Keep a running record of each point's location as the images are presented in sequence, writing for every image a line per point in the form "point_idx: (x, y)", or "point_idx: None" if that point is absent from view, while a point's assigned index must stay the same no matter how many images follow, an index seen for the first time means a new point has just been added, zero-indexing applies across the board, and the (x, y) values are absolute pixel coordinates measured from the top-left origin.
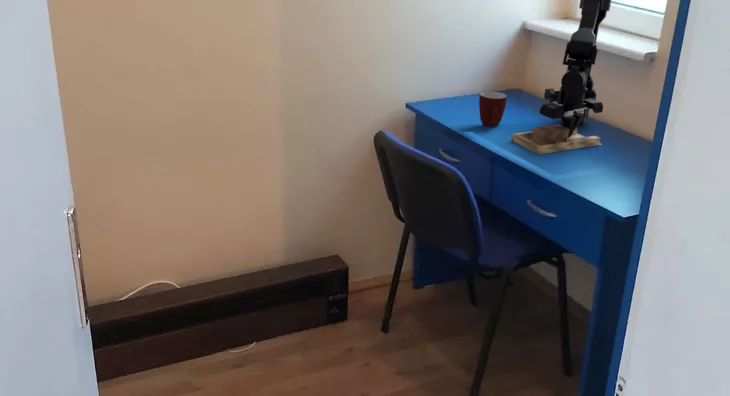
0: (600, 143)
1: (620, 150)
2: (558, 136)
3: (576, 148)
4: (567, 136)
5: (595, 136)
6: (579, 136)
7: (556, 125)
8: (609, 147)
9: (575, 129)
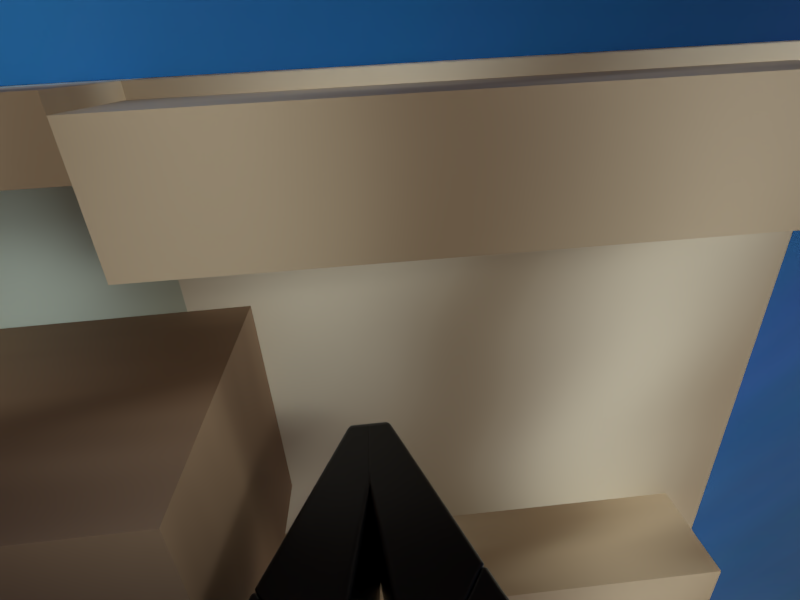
0: (691, 527)
1: (744, 580)
2: None
3: None
4: None
5: (692, 589)
6: (701, 287)
7: (43, 589)
8: (735, 520)
9: (792, 218)
